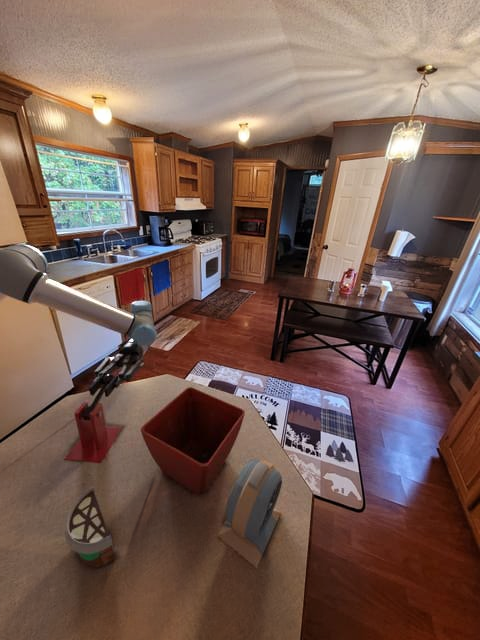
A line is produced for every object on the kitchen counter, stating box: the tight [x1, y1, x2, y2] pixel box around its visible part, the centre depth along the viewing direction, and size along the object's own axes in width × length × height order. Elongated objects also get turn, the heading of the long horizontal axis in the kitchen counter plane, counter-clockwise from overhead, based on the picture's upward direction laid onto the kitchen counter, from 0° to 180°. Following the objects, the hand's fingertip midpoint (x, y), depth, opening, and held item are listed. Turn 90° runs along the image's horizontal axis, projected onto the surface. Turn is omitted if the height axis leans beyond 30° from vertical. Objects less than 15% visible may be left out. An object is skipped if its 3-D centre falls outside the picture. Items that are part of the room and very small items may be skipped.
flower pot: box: [140, 386, 246, 497], centre depth 67 cm, size 19×19×17 cm
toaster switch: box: [63, 401, 123, 464], centre depth 70 cm, size 12×10×14 cm
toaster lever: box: [82, 374, 115, 420], centre depth 73 cm, size 14×4×4 cm, turn 177°
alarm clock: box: [217, 458, 283, 569], centre depth 54 cm, size 14×10×18 cm
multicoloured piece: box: [65, 486, 116, 569], centre depth 49 cm, size 12×6×10 cm, turn 42°
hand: (98, 392), depth 72 cm, fingers closed on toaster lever, 4 cm apart
